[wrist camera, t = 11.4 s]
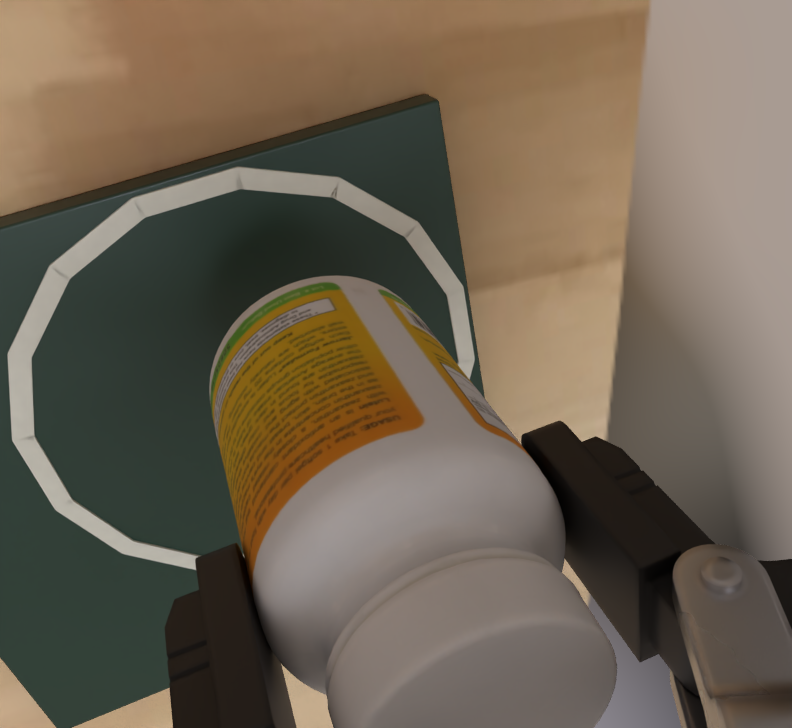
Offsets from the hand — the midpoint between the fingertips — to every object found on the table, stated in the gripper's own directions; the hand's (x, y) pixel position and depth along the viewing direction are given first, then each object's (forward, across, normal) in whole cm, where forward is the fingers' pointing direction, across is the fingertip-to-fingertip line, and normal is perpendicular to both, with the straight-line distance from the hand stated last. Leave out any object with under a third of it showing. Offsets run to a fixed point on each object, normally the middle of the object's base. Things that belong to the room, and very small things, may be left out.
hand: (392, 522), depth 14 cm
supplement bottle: (+6, 0, 0) cm, 6 cm away
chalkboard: (+12, +4, +6) cm, 14 cm away
